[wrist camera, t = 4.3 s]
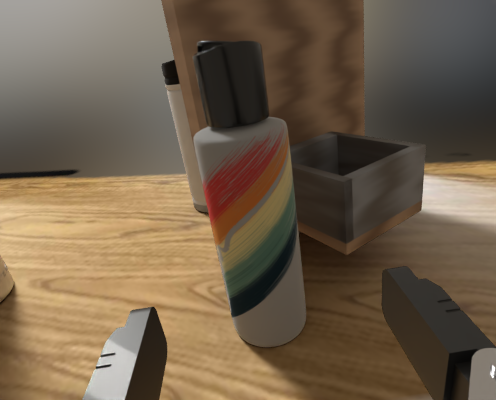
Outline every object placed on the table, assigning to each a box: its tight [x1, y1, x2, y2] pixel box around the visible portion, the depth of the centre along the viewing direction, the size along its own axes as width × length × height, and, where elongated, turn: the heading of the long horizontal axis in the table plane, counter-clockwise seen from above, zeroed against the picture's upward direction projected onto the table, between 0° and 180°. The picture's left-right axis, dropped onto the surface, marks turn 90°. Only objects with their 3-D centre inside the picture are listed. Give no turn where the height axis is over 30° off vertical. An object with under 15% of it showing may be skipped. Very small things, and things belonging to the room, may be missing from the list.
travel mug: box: [162, 60, 208, 213], centre depth 44 cm, size 6×7×20 cm
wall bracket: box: [161, 0, 426, 258], centre depth 29 cm, size 20×12×28 cm, turn 124°
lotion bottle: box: [193, 41, 306, 347], centre depth 22 cm, size 6×6×20 cm
